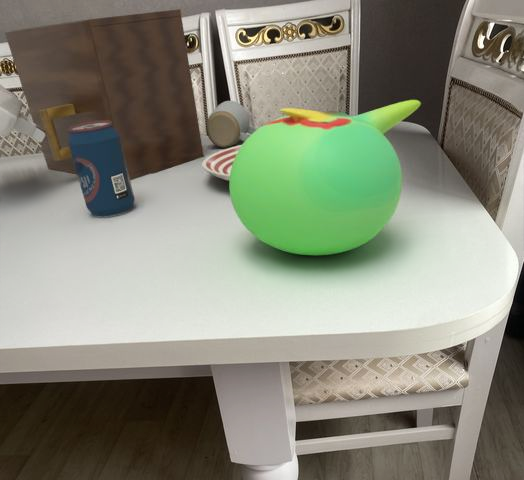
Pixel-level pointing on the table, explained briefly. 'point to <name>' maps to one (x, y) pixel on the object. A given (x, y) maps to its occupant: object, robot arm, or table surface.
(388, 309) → the table surface
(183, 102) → the cupboard
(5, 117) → the robot arm
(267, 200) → the toy bird
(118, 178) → the soda can
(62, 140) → the cupboard door
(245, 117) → the ceramic mug
